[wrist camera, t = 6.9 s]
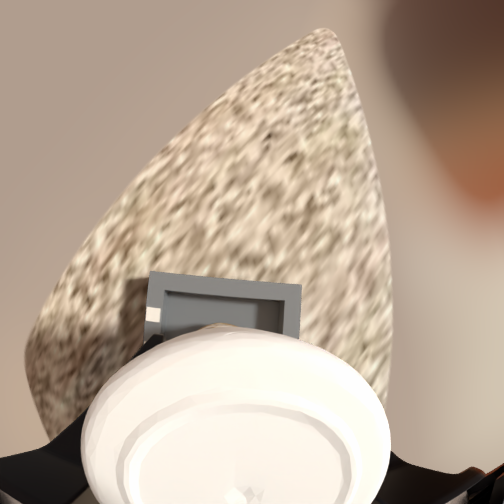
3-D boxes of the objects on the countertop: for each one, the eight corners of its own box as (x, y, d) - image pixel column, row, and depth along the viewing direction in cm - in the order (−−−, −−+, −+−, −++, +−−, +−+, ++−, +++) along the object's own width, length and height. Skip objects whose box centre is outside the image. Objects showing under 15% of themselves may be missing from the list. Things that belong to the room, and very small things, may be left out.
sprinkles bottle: (272, 344, 16) (446, 399, 3) (236, 407, 15) (297, 586, 2) (204, 307, 16) (160, 252, 3) (168, 372, 15) (44, 501, 2)
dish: (282, 415, 16) (291, 428, 14) (150, 406, 15) (141, 418, 13) (291, 288, 18) (302, 284, 16) (157, 276, 17) (149, 270, 15)
